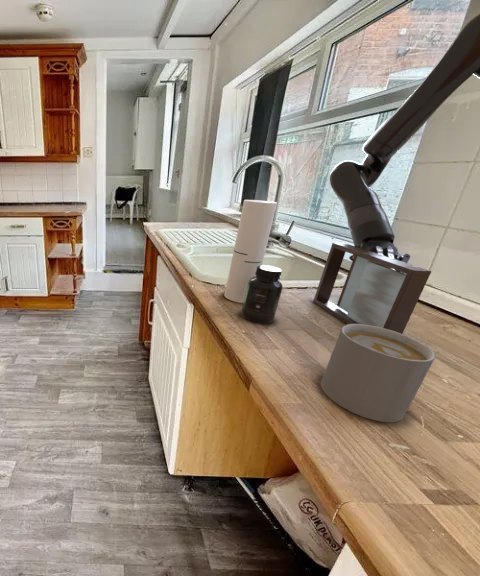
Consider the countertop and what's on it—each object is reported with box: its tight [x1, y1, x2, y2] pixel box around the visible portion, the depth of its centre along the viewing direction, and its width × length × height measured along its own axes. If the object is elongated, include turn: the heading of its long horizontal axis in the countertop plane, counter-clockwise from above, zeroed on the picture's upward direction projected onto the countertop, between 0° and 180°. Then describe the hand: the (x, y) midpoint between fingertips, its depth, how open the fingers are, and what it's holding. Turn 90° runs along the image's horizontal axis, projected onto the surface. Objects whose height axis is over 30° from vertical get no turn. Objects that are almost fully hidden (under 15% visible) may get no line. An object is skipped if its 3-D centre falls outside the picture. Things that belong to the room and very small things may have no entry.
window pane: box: [336, 255, 406, 312], centre depth 69 cm, size 10×9×13 cm
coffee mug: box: [320, 324, 436, 423], centre depth 46 cm, size 13×10×10 cm
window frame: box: [313, 242, 432, 335], centre depth 68 cm, size 22×3×16 cm, turn 177°
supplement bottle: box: [241, 264, 284, 325], centre depth 69 cm, size 7×7×12 cm
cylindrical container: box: [223, 199, 278, 304], centre depth 77 cm, size 7×7×25 cm
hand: (390, 290), depth 70 cm, fingers closed
